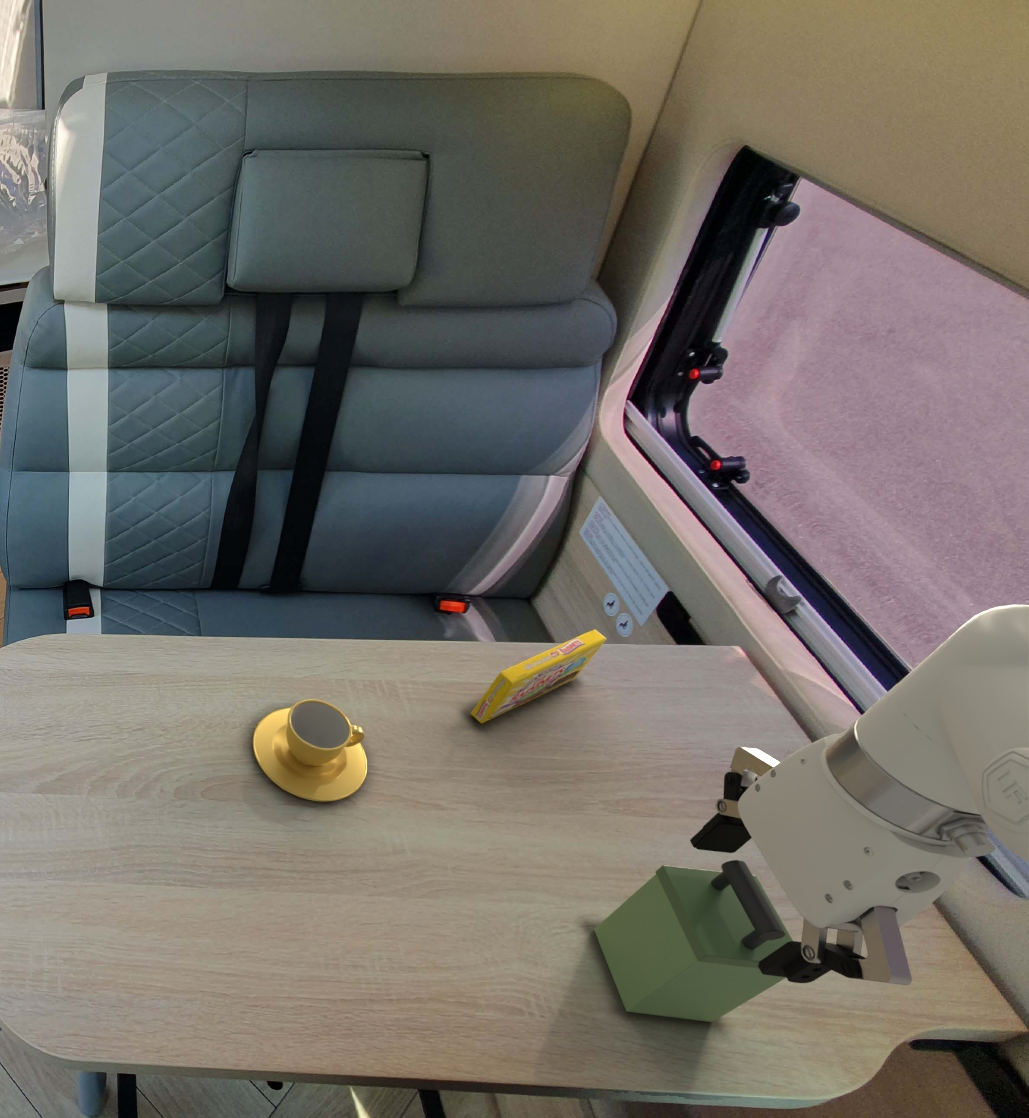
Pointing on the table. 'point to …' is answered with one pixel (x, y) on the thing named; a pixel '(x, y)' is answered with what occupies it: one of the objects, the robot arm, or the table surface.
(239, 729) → the table surface
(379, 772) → the table surface
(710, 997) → the lunchbox
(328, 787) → the cup
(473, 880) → the table surface
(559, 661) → the candy box
